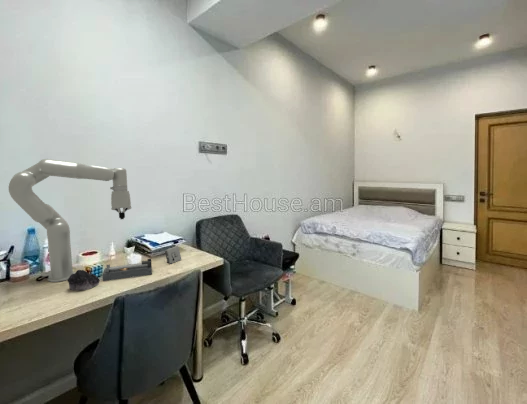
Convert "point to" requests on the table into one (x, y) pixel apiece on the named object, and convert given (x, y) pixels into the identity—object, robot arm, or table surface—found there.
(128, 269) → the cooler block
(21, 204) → the robot arm
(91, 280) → the crystal cluster
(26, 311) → the table surface
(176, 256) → the electrical switch
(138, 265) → the thin grey rod
